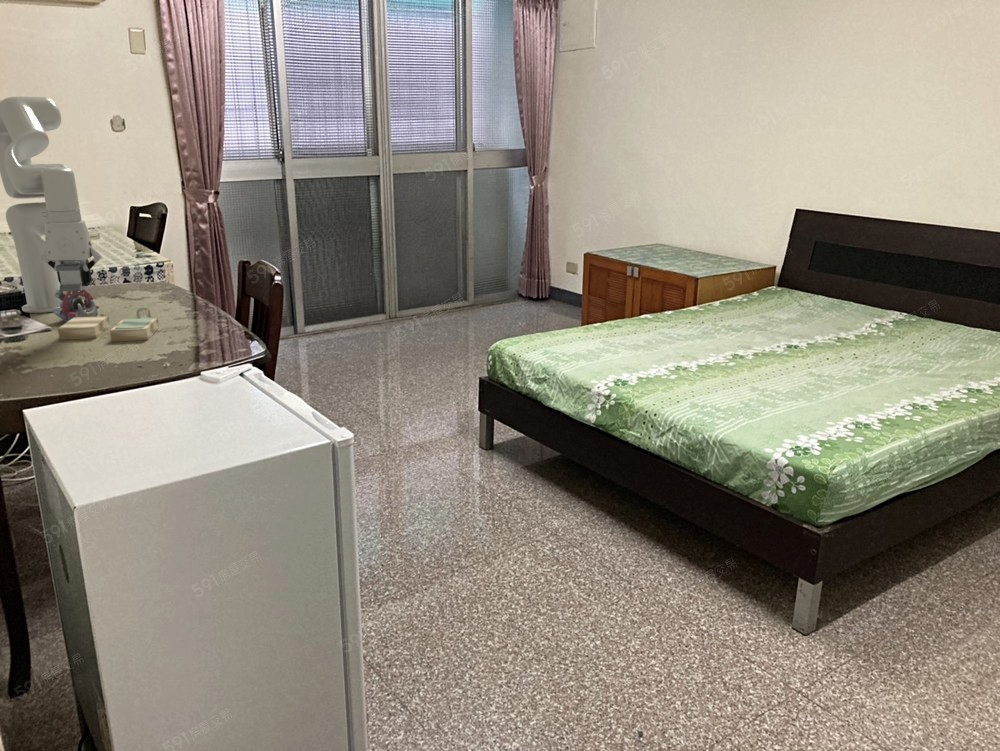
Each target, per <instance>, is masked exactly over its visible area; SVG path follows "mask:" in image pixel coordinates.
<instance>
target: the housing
mask: <svg viewBox="0 0 1000 751" xmlns="http://www.w3.org/2000/svg"><path fill="white" fill-rule="evenodd" d="M56 270H57V271H59V274H60V280H61V283H60V291H63V292H68V291H71V292H72V291H78V292H80V291H81V290H83V289H86V288H87V287H88V286H84V281H83V275H82V272H83V267H82V265H81V263H80V261H64V262H62V263H61V264H59V265H57V266H56ZM92 283H93V282H91V283H90V284H89V285H91V284H92Z"/></svg>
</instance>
